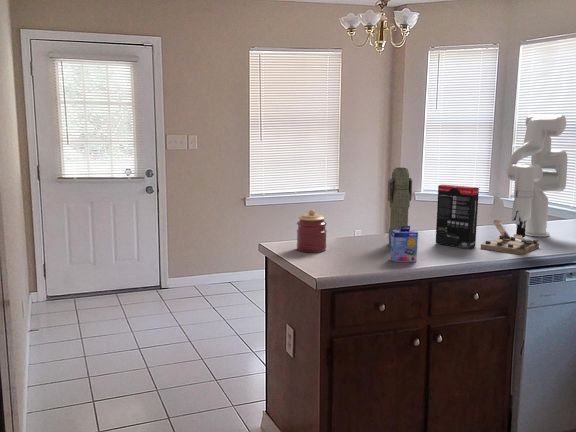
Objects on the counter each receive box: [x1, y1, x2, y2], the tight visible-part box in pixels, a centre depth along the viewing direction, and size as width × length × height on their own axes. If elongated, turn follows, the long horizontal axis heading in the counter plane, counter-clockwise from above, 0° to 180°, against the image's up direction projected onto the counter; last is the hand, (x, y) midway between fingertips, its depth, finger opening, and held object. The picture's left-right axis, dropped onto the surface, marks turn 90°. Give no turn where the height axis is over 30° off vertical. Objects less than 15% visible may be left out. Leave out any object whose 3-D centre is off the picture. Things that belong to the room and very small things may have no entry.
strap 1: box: [493, 219, 512, 240], centre depth 254 cm, size 16×3×1 cm
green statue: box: [387, 167, 413, 246], centre depth 254 cm, size 9×12×35 cm
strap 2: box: [512, 233, 533, 243], centre depth 247 cm, size 16×3×1 cm, turn 137°
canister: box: [296, 209, 328, 253], centre depth 245 cm, size 13×13×18 cm
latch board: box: [480, 234, 540, 256], centre depth 250 cm, size 20×18×4 cm
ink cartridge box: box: [389, 225, 419, 263], centre depth 226 cm, size 10×6×14 cm, turn 95°
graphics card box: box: [435, 184, 480, 250], centre depth 253 cm, size 17×7×27 cm, turn 47°
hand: (520, 236), depth 243 cm, fingers closed
